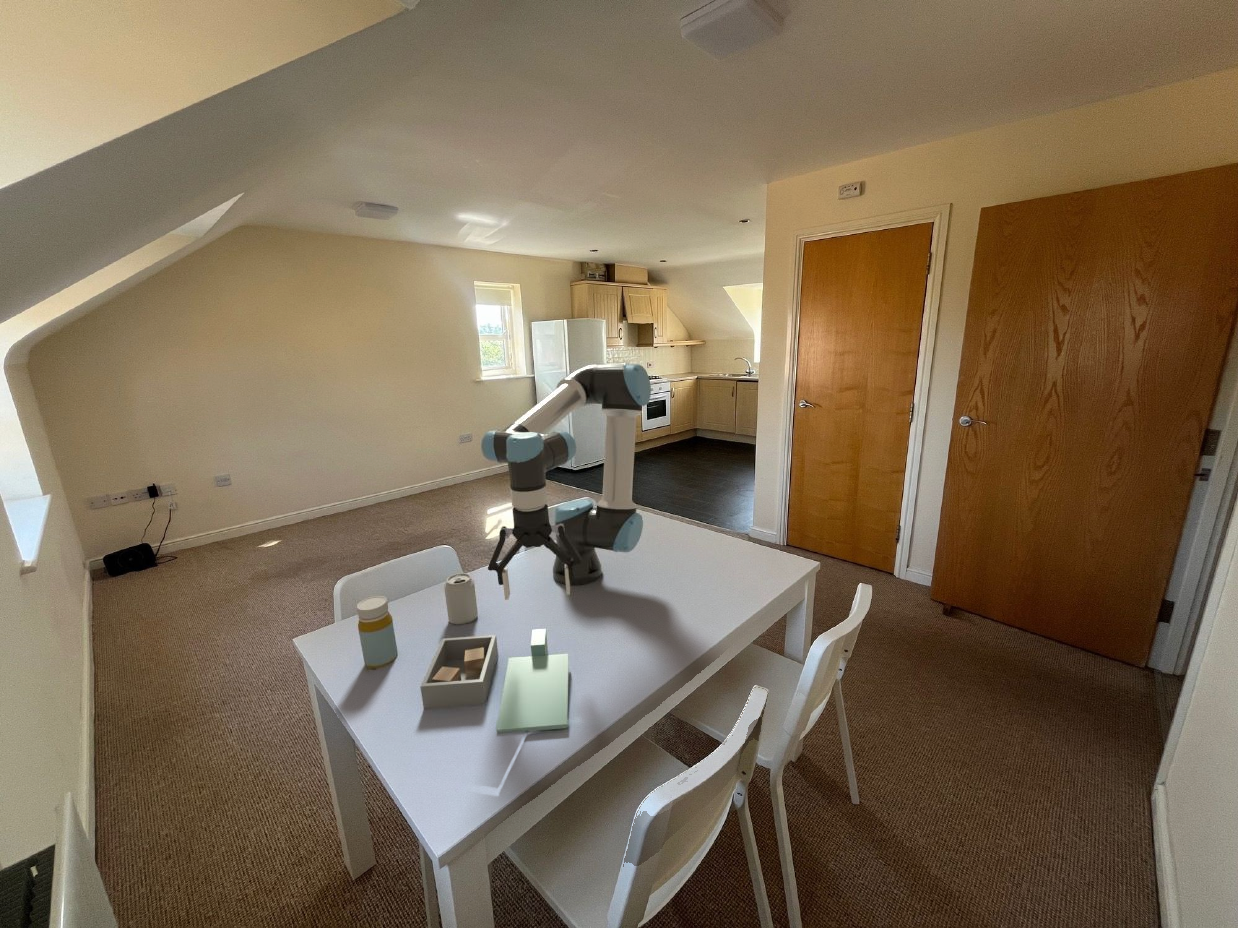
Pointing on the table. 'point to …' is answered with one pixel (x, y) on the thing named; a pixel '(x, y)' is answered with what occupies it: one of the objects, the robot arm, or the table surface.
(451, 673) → the block
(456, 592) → the can
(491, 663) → the tub
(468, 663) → the block
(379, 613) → the bottle
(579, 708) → the table surface
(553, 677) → the lid
